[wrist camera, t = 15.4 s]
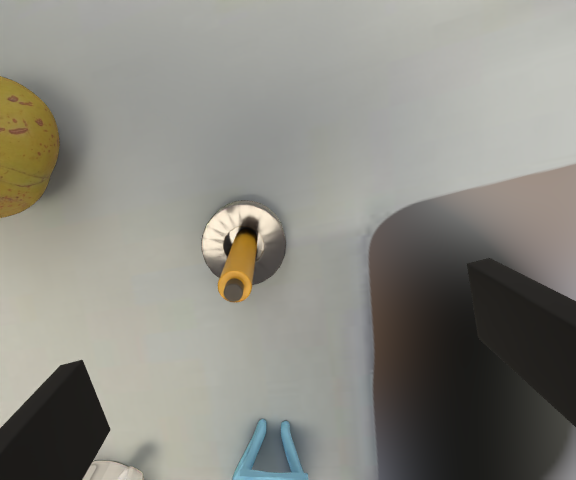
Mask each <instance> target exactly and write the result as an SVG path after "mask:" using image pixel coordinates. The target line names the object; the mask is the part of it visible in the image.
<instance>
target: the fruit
mask: <svg viewBox="0 0 576 480" xmlns="http://www.w3.org/2000/svg"><path fill="white" fill-rule="evenodd" d="M59 146H60V142H59V133H58V128H57V125H56V122H55V119H54V117H53V115H52V113H51V111H50V110H49V108H48V107H47V106H46V104H45V103H44V102H43V101H42V100H41V99H40V98H39V97H37V96H36V95H35V94H34V93H32V92H31V91H30V90H28V89H27V88H26V87H24V86H22V85H21V84H19V83H17V82H15V81H12V80H10V79H7V78H4V77H1V76H0V218H3V217H7V216H11V215H14V214H17V213H20V212H22V211H24V210H26V209H27V208H29V207H30V206H32V205H33V204H34V203H35V202H36V201H37V200H38V199H39V198H40V197H41V196H42V194H43V193H44V191H45V189H46V187H47V185H48V182H49V180H50V175H51V173H52V171H53V169H54V167H55V164H56V161H57V158H58V153H59Z"/></svg>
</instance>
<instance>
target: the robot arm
mask: <svg viewBox="0 0 576 480" xmlns="http://www.w3.org/2000/svg"><path fill="white" fill-rule="evenodd" d="M467 267H468V274H469V281H470V287H471V293H472V300H473V307H474V313H475V319H476V326H477V333H478V338H479V339H480V340H481V341H482V342H483V343H484V344H485V345H486V346H487V347H488V348H490V349H491V350H492V351H493V352H494V353H495V354H496V355H497V356H498V357H500V358H501V359H502V360H503V361H504V362H505V363H506V364H507V365H508V366H509V367H511V368H512V369H513V370H514V371H515V372H516V373H517V374H518V375H519V376H521V378H523V379H524V380H525V381H526V382H527V383H528V384H529V385H530V386H531V387H533V388H534V389H535V390H536V391H537V392H538V393H539V394H540V395H541V396H542V397H543V398H544V399H546V400H547V401H548V402H549V403H550V404H551V405H552V406H553V407H554V408H555V409H557V410H558V411H559V412H560V413H561V414H562V415H563V416H564V417H565V418H567V419H568V420H569V421H570V422H571V423H572V424H573V425H574V426H575V427H576V301H574V300H572V299H570V298H568V297H566V296H564V295H562V294H560V293H558V292H556V291H554V290H552V289H550V288H548V287H546V286H544V285H542V284H540V283H538V282H536V281H534V280H532V279H530V278H528V277H526V276H524V275H522V274H520V273H518V272H516V271H514V270H512V269H510V268H508V267H506V266H504V265H502V264H500V263H498V262H496V261H494V260H492V259H490V258H488V259H484V260H480V261H476V262H472V263H468V264H467ZM109 431H110V427H109V425H108V422H107V420H106V417H105V415H104V412H103V410H102V407H101V405H100V402H99V400H98V397H97V395H96V392H95V390H94V387H93V385H92V382H91V380H90V377H89V375H88V372H87V370H86V367H85V365H84V362H83V360H80V361H76V362H72V363H68V364H64V365H60V366H59V367H58V368H57V369H56V371H55V372H54V373H53V374H52V375H51V376H50V377H49V378H48V379H47V380H46V381H45V382H44V383H43V384H42V385H41V386H40V387H39V388H38V389H37V390H36V391H35V393H34V394H33V395H32V396H31V397H30V398H29V399H28V400H27V401H26V402H25V403H24V404H23V405H22V406H21V407H20V408H19V409H18V410H17V411H16V412H15V413H14V415H13V416H12V417H11V418H10V419H9V420H8V421H7V422H6V423H5V424H4V425H3V426H2V427H1V428H0V480H83V478H84V476H85V474H86V472H87V471H88V469H89V467H90V465H91V464H92V462H93V460H94V458H95V456H96V455H97V453H98V451H99V449H100V447H101V446H102V444H103V442H104V440H105V438H106V437H107V435H108V433H109Z"/></svg>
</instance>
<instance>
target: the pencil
mask: <svg viewBox="0 0 576 480" xmlns="http://www.w3.org/2000/svg"><path fill="white" fill-rule="evenodd" d="M256 249H257V236H256V234H255V233H254V232H253V231H251V230H247V229H245V230H241V231H239V232H238V233H237V235H236V236H235V239H234V242H233V244H232V247H231V250H230V252H229V255H228V258H227V260H226V263H225V266H224V268H223V271H222V274H221V276H220V279H219V282H218V291H219V293H220V295H221V296H222V297H223V298H224V299H225V300H227V301H230V302H240V301H243V300H245V299H246V298H247V297H248V296H249V294H250V293H251V289H252V282H253V273H254V265H255V257H256Z"/></svg>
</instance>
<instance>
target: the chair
mask: <svg viewBox="0 0 576 480" xmlns="http://www.w3.org/2000/svg"><path fill="white" fill-rule="evenodd" d="M265 434H266V421H265V420H264V419H261V420H259V422H258V425H257V427H256V430H255V432H254V435H253V437H252V439H251V441H250V443H249V445H248V447H247V449H246V450H245V452H244V454H243V456H242V458H241V460H240V462H239V464H238V466H237V468H236V470H235V472H234V475H233V479H232V480H308V473H304V472H303V469H302V467H301V464H300V461H299V458H298V455H297V452H296V449H295V446H294V443H293V440H292V437H291V433H290V425H289V422H288V421H284V422H282V424H281V438H282V443H283V447H284V450H285V454H286V457H287V460H288V464H289V467H290V470H291V473H275V472H264V471H258V470H252V467H253V464H254V462H255V459H256V457H257V454H258V452H259V449H260V447H261V444H262V442H263V439H264V437H265Z"/></svg>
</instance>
